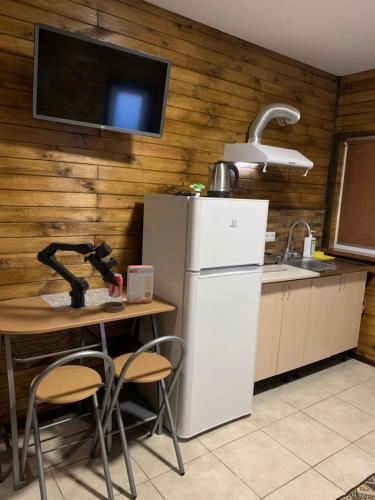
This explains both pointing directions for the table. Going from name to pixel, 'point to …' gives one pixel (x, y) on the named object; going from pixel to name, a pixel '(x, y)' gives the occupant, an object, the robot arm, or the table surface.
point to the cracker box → (140, 284)
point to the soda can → (115, 290)
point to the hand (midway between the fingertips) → (118, 284)
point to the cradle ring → (118, 308)
